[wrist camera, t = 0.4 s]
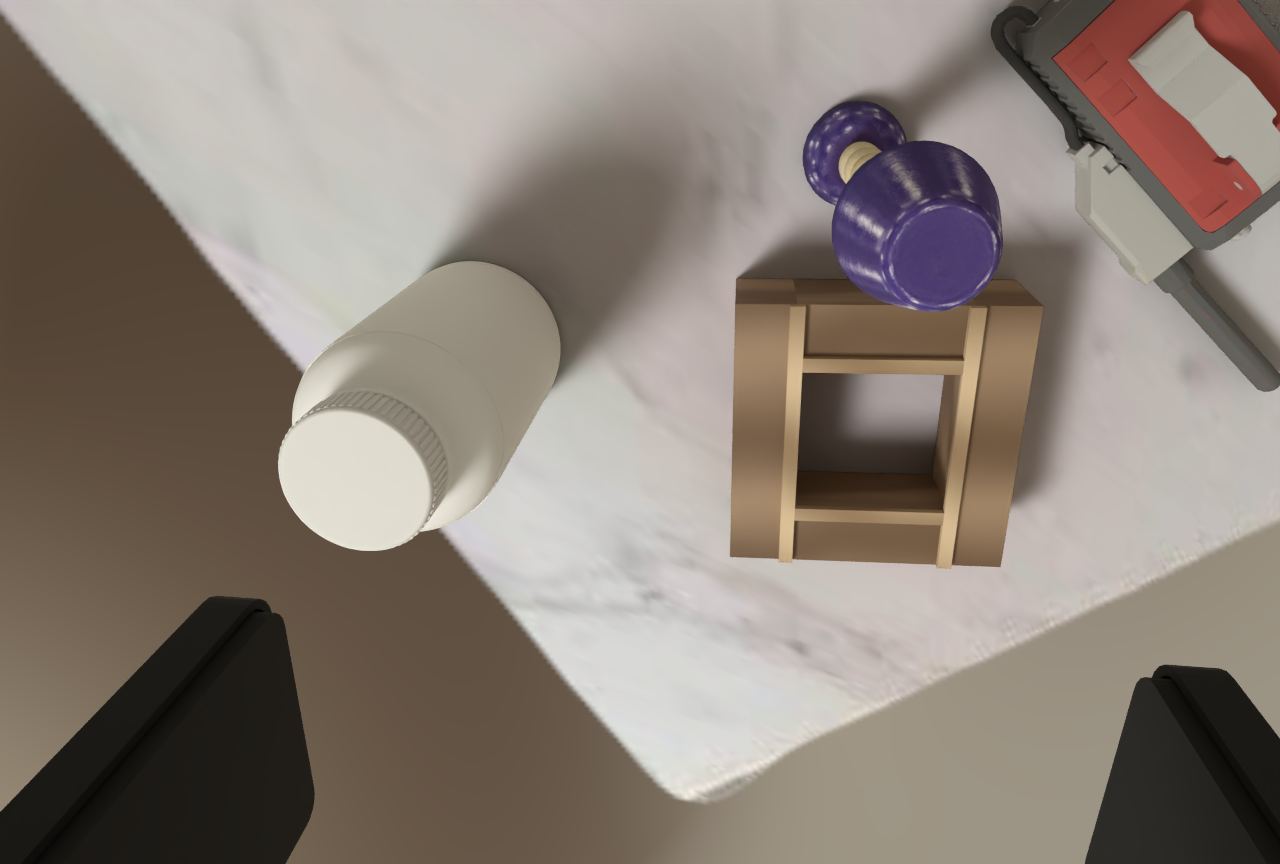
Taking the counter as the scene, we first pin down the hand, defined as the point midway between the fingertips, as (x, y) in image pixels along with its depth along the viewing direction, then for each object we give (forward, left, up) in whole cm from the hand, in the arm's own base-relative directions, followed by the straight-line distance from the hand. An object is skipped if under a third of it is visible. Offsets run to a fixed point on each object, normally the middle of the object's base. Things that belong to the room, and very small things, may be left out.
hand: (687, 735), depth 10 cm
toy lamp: (-2, +5, -32) cm, 33 cm away
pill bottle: (+6, -12, -32) cm, 35 cm away
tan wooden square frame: (+9, +6, -32) cm, 34 cm away
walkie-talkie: (-2, +18, -33) cm, 37 cm away
